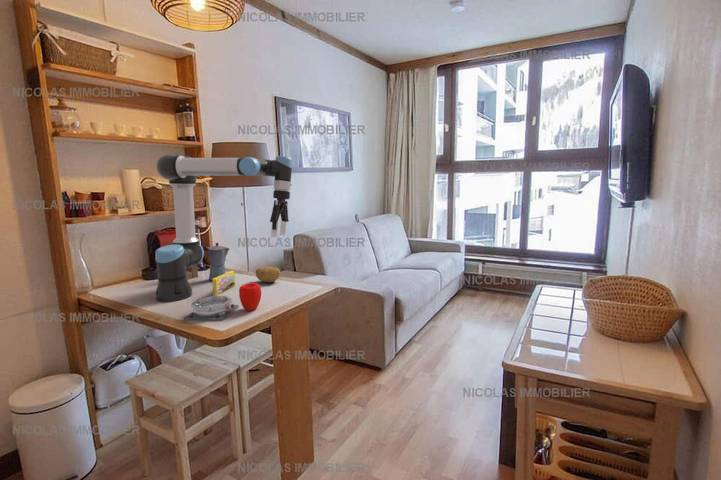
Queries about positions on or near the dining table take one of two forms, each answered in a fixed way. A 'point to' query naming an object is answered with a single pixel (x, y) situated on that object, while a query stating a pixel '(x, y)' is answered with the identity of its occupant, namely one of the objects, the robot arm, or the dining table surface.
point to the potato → (267, 274)
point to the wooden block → (192, 272)
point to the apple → (250, 296)
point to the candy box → (223, 283)
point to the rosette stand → (212, 308)
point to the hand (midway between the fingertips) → (278, 235)
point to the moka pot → (216, 260)
